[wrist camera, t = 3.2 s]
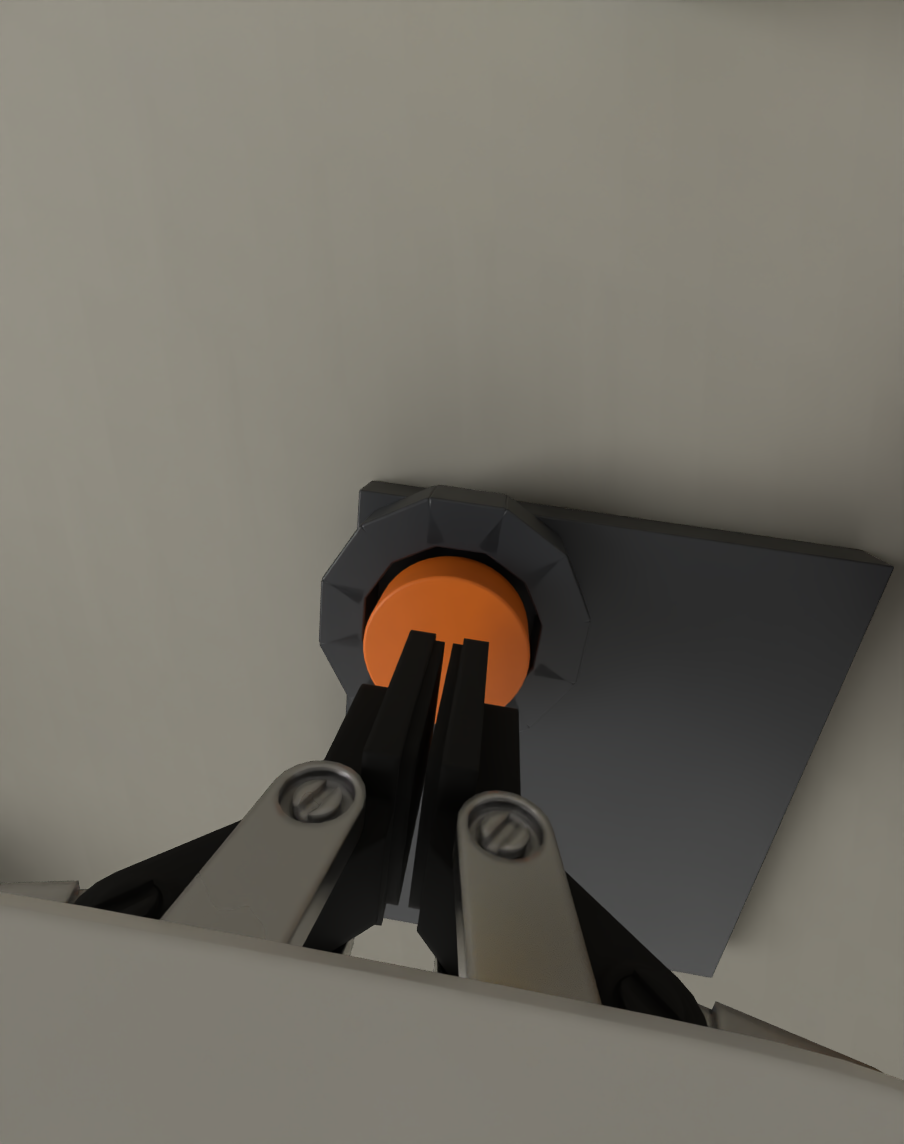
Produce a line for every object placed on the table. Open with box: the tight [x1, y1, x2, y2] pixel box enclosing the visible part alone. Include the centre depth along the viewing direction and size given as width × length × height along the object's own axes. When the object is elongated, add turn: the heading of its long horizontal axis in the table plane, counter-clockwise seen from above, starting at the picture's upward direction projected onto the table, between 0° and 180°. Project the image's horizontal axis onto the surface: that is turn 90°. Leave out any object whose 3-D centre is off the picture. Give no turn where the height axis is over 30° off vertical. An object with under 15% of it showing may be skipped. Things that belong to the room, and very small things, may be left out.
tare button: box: [363, 556, 530, 724], centre depth 13 cm, size 4×4×2 cm
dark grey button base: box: [319, 481, 894, 978], centre depth 17 cm, size 16×14×3 cm
